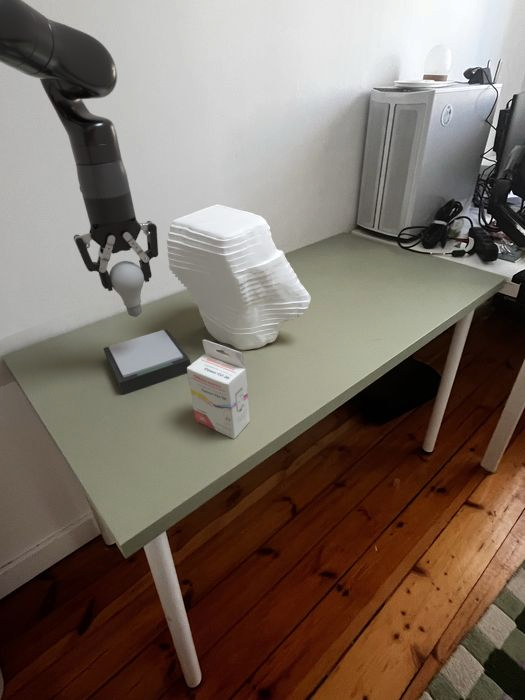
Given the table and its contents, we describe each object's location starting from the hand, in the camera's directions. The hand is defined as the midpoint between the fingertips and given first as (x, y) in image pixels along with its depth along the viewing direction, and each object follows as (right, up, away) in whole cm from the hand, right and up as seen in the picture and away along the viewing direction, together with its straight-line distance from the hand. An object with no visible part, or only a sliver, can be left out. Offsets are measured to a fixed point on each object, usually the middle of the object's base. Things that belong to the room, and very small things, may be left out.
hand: (128, 284), depth 80 cm
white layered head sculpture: (+19, -9, +18) cm, 28 cm away
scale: (+1, -15, +10) cm, 18 cm away
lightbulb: (0, -6, +4) cm, 7 cm away
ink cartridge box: (+18, -25, -5) cm, 31 cm away
